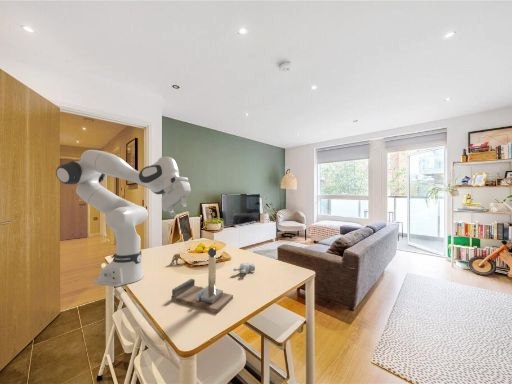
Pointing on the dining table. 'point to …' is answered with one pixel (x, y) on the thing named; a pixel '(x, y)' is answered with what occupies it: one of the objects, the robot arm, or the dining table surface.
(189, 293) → the press base
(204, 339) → the dining table surface
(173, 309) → the dining table surface
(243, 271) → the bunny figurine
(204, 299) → the grey upright rod
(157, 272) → the dining table surface
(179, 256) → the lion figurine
